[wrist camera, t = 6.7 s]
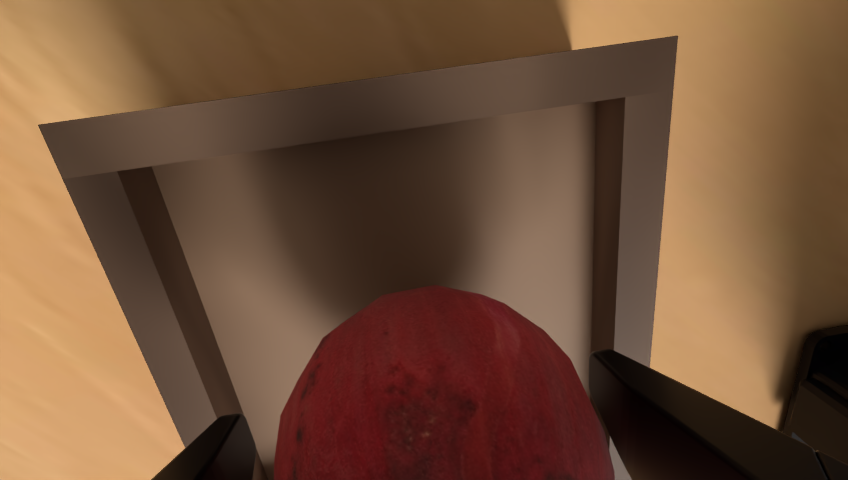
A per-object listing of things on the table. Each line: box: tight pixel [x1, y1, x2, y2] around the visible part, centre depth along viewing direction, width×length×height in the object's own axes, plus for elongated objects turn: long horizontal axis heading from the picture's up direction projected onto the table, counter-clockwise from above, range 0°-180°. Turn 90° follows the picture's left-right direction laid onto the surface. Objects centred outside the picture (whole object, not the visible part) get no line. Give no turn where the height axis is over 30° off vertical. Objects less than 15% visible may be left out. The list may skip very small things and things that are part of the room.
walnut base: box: [38, 36, 678, 480], centre depth 12 cm, size 12×12×5 cm
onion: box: [274, 285, 615, 480], centre depth 7 cm, size 6×6×8 cm
